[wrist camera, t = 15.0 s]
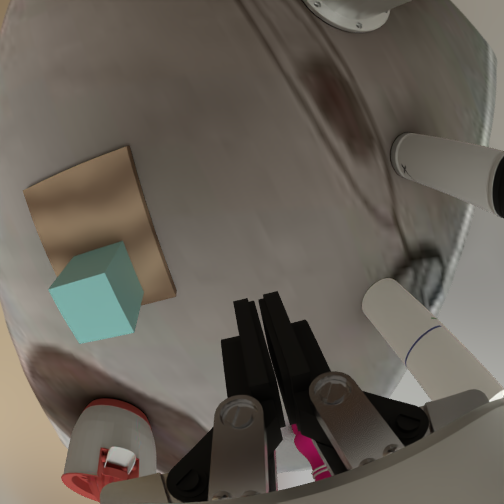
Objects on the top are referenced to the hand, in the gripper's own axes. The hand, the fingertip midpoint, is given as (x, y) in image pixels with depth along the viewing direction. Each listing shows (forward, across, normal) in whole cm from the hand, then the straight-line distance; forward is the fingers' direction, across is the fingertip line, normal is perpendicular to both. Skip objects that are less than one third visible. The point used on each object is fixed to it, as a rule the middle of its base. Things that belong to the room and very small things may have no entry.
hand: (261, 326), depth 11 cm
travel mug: (+24, -24, 0) cm, 34 cm away
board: (+22, +16, +2) cm, 27 cm away
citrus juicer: (+21, +28, +34) cm, 49 cm away
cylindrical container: (+23, -20, +22) cm, 37 cm away
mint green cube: (+21, +15, +6) cm, 27 cm away
